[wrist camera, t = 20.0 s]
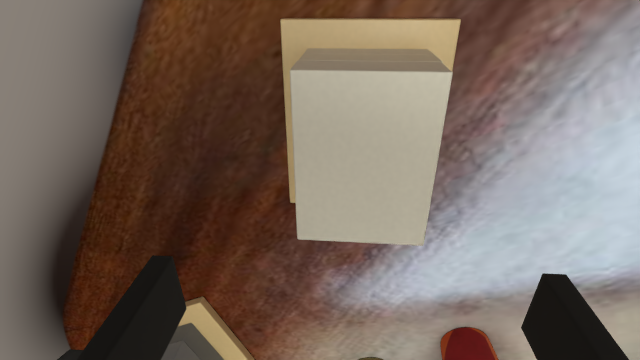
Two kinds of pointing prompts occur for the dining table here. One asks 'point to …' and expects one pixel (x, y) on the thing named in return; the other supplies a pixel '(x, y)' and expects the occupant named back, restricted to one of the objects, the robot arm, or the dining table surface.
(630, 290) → the dining table surface
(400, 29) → the cream box
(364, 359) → the pepper shaker
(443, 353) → the paper cup
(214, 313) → the grey stack
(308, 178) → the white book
